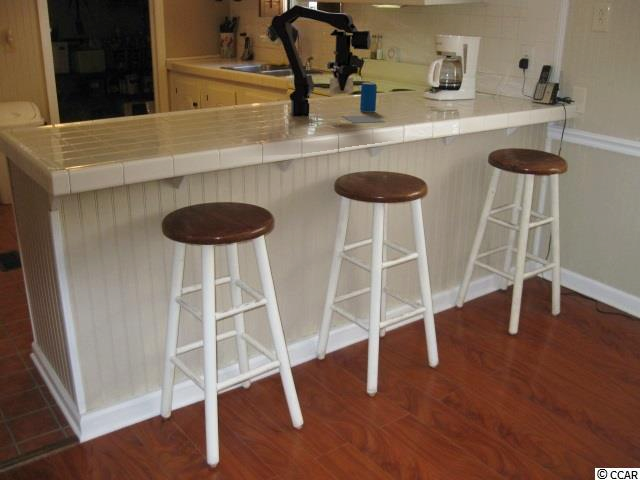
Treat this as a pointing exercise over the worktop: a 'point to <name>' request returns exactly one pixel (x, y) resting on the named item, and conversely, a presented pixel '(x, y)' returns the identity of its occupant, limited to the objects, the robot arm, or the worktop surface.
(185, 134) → the worktop surface
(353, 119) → the mat
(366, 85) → the beverage can
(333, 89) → the rectangular block
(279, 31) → the robot arm
